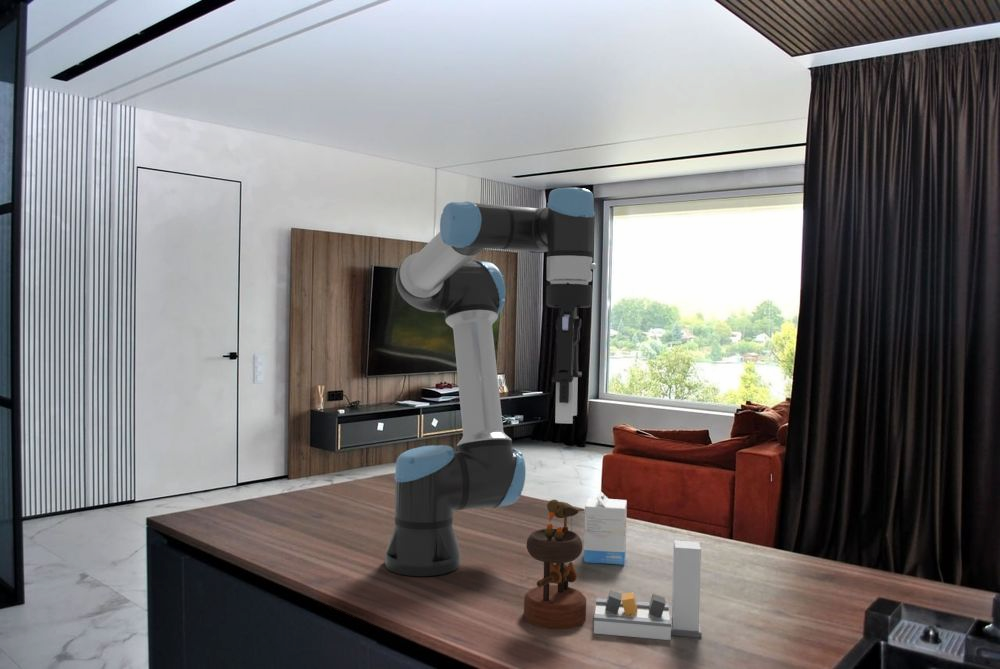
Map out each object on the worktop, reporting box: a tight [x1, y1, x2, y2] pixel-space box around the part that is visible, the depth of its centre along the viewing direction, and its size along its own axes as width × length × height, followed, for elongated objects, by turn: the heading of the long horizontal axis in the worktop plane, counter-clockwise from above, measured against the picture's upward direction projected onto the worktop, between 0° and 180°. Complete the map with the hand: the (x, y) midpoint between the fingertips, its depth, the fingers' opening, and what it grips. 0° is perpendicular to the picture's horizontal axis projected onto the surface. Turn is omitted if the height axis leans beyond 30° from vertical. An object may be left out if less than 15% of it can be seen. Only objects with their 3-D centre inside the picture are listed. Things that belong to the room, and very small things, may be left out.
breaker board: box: [593, 597, 672, 641], centre depth 126 cm, size 12×9×2 cm
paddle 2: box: [621, 591, 638, 615], centre depth 126 cm, size 2×3×2 cm
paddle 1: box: [605, 590, 623, 614], centre depth 127 cm, size 2×3×2 cm
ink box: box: [583, 490, 628, 566], centre depth 161 cm, size 9×8×13 cm
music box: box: [523, 499, 587, 630], centre depth 128 cm, size 15×11×20 cm
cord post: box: [670, 539, 703, 639], centre depth 124 cm, size 5×5×14 cm
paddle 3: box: [649, 593, 666, 618], centre depth 125 cm, size 2×3×2 cm
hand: (566, 418), depth 127 cm, fingers open, 9 cm apart
